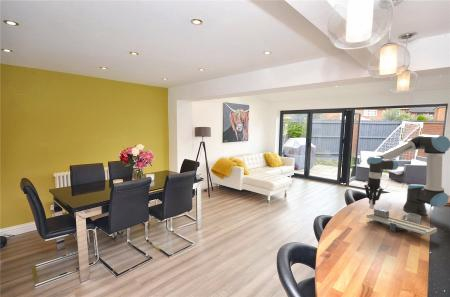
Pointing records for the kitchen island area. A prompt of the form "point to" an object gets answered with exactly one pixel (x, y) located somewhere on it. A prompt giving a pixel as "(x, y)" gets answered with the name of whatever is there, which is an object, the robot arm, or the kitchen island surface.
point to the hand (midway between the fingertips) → (371, 208)
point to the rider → (381, 213)
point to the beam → (404, 224)
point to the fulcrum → (395, 227)
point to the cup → (412, 218)
